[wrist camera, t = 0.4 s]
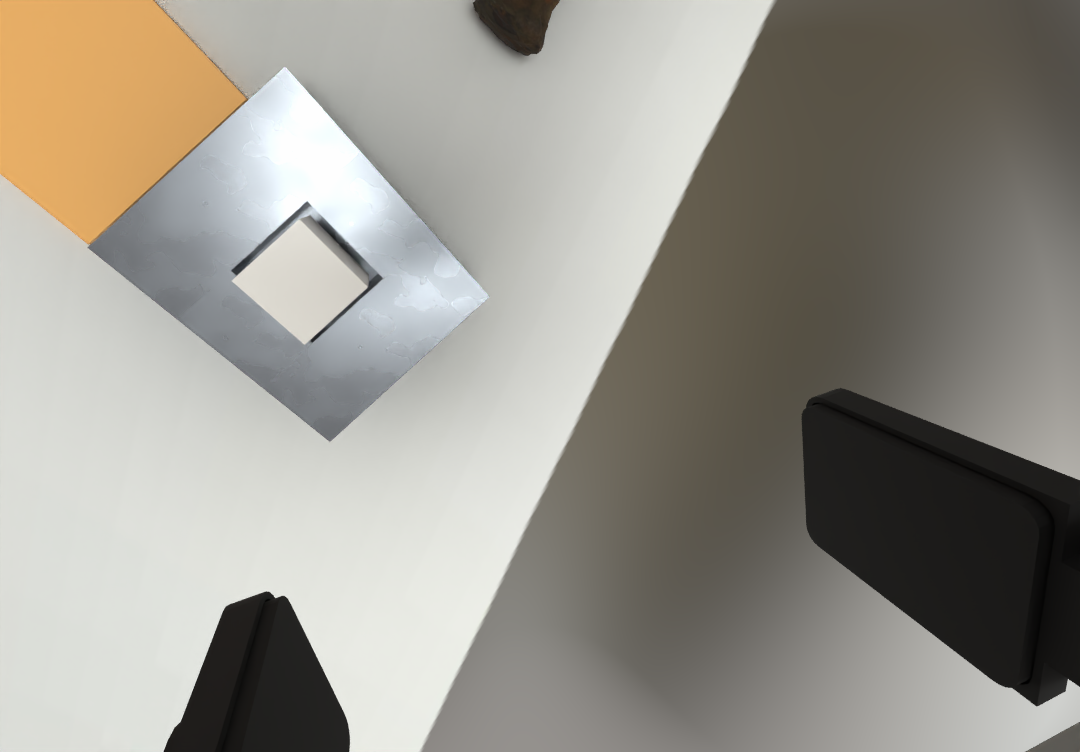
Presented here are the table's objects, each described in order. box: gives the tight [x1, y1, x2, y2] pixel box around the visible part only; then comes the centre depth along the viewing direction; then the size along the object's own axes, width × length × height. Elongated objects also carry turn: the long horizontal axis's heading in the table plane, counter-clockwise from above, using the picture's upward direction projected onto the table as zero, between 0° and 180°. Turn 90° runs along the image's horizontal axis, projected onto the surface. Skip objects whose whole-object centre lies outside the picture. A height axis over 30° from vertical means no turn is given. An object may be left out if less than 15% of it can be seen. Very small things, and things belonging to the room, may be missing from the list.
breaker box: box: [88, 67, 490, 441], centre depth 29 cm, size 12×14×5 cm
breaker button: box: [232, 215, 369, 345], centre depth 26 cm, size 4×4×4 cm
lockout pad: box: [0, 0, 248, 244], centre depth 25 cm, size 11×14×1 cm
